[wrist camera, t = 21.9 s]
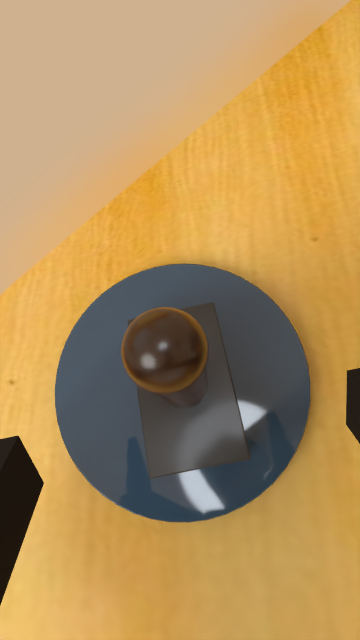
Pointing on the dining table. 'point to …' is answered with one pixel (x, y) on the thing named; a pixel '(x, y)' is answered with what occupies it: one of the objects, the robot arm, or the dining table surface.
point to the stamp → (183, 390)
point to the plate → (123, 406)
